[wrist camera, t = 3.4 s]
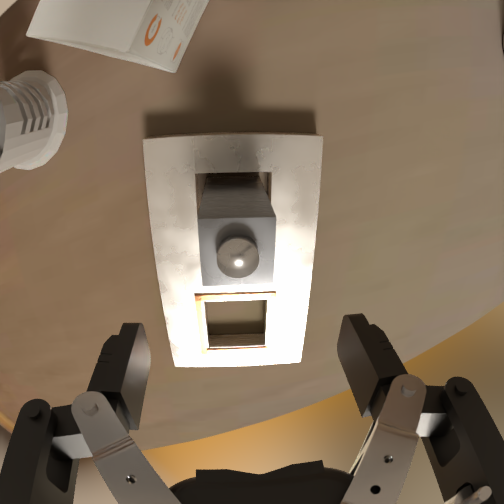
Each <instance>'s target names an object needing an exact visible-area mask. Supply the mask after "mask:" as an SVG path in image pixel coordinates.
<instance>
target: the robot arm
mask: <svg viewBox="0 0 504 504" xmlns="http://www.w3.org/2000/svg"><path fill="white" fill-rule="evenodd" d="M503 48H504V36H503ZM337 352H338V357H339V359H340V362H341V364H342V367H343V369H344V372H345V374H346V377H347V379H348V382H349V385H350V387H351V390H352V392H353V395H354V397H355V400H356V403H357V405H358V408H359V411H360V413H361V416H362V417H367V416H372V418H373V420H374V421H373V423H372V425H371V427H370V430H369V432H368V434H367V436H366V439H365V441H364V443H363V446H362V448H361V450H360V452H359V454H358V456H357V458H356V460H355V462H354V464H353V466H352V468H351V469H350V471H349V473H347V472H344V471H341V470H337V469H333V468H326V467H324V466H323V462H322V460H320V461H313V462H307V463H300V464H292V465H289V466H286V467H284V468H281V469H277V470H275V471H271V472H268V473H265V474H252V473H245V472H240V471H234V470H227V469H221V470H196V477H193V478H189V479H186V480H183V481H181V482H179V483H177V484H175V485H173V486H172V487H170V488H168V487H167V486H166V485H165V483H164V482H163V481H162V479H161V478H160V477H159V475H158V474H157V473H156V471H155V470H154V469H153V467H152V466H151V465H150V463H149V462H148V461H147V459H146V458H145V456H144V455H143V454H142V452H141V451H140V449H139V448H138V446H137V445H136V444H135V442H134V441H133V439H132V438H130V436H129V435H128V434H129V429H130V430H138V429H139V423H140V417H141V411H142V406H143V400H144V395H145V390H146V385H147V380H148V374H149V370H150V364H151V355H150V349H149V346H148V342H147V338H146V334H145V330H144V326H143V324H142V323H123V325H122V327H121V330H120V333H119V335H112V336H111V337H110V338H109V339H108V340H107V341H106V342H105V343H104V345H103V348H102V350H101V353H100V354H101V355H99V358H98V363H97V364H96V366H95V369H94V372H93V375H92V377H91V380H90V383H89V386H88V389H87V392H85V393H82V394H80V395H79V396H77V397H76V398H75V400H74V401H73V403H72V404H71V405H66V406H60V407H53V408H51V407H50V405H49V404H48V403H47V402H46V401H45V400H42V399H33V400H30V401H28V402H27V403H25V404H24V405H23V407H22V408H21V410H20V413H19V415H18V418H17V421H16V424H15V427H14V430H13V433H12V436H11V439H10V442H9V446H8V448H7V452H6V455H5V458H4V462H3V466H2V469H1V473H0V504H73V499H74V491H75V484H76V477H77V471H78V465H79V459H80V458H84V457H91V456H92V459H93V461H94V463H95V465H96V467H97V469H98V471H99V472H100V474H101V476H102V478H103V479H104V481H105V483H106V484H107V486H108V488H109V489H110V491H111V493H112V494H113V496H114V497H115V499H116V500H117V502H118V504H396V503H397V500H398V498H399V495H400V492H401V490H402V487H403V485H404V482H405V479H406V476H407V473H408V471H409V468H410V465H411V462H412V458H413V455H414V452H415V449H416V445H417V442H418V438H419V437H421V439H422V441H423V443H424V446H425V449H426V451H427V454H428V457H429V459H430V462H431V465H432V468H433V470H434V473H435V476H436V479H437V482H438V484H439V488H440V490H441V493H442V496H443V499H444V502H445V503H444V504H504V440H503V438H502V436H501V434H500V433H499V431H498V429H497V427H496V425H495V423H494V421H493V419H492V417H491V416H490V414H489V412H488V410H487V409H486V406H485V405H484V403H483V401H482V399H481V398H480V396H479V394H478V392H477V391H476V389H475V387H474V386H473V384H472V383H471V382H470V381H469V380H467V379H465V378H462V377H453V378H451V379H449V380H448V381H447V382H446V384H445V386H427V385H425V384H424V382H423V381H422V380H421V379H419V378H418V377H416V376H414V375H410V374H408V373H407V371H406V369H405V367H404V366H403V364H402V362H401V360H400V359H399V357H398V355H397V353H396V352H395V350H394V349H393V346H392V345H391V343H390V342H389V340H388V338H387V336H386V335H385V333H384V331H382V330H381V329H380V328H379V327H377V326H376V325H375V324H372V325H369V323H368V321H367V319H366V318H365V316H364V315H363V314H362V313H361V314H350V315H345V316H344V317H343V320H342V325H341V330H340V334H339V338H338V343H337Z"/></svg>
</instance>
